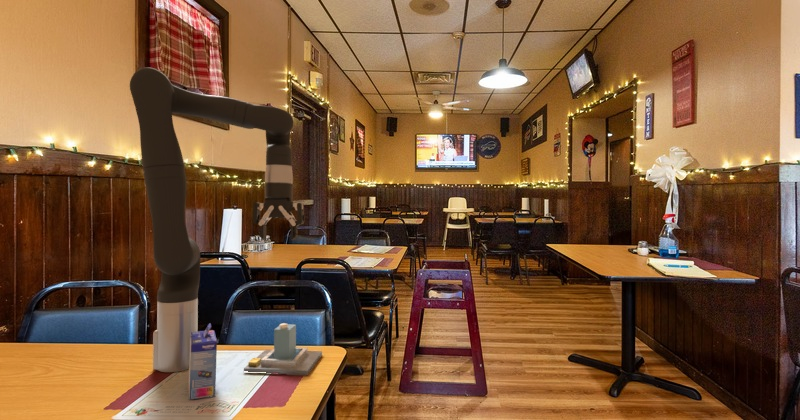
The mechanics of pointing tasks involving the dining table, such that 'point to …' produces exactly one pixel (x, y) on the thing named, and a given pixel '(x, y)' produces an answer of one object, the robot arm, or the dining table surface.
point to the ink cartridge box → (202, 364)
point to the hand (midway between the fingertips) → (278, 239)
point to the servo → (285, 341)
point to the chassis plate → (285, 362)
